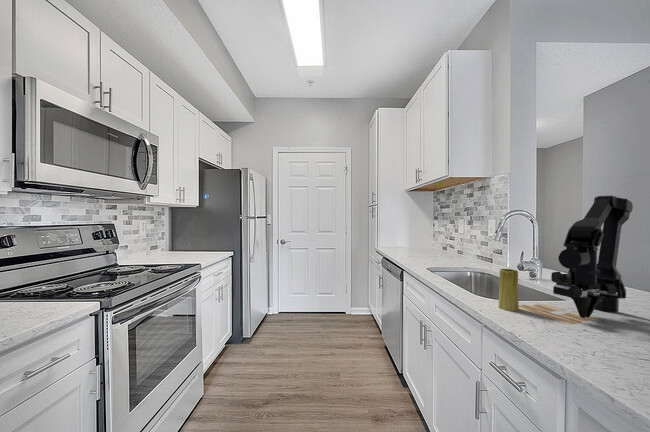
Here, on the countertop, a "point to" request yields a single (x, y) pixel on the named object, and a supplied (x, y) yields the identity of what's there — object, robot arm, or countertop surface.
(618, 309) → the robot arm
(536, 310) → the laid board
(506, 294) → the vase
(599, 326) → the countertop surface
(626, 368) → the countertop surface
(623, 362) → the countertop surface
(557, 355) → the countertop surface
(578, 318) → the plank
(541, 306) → the plank
